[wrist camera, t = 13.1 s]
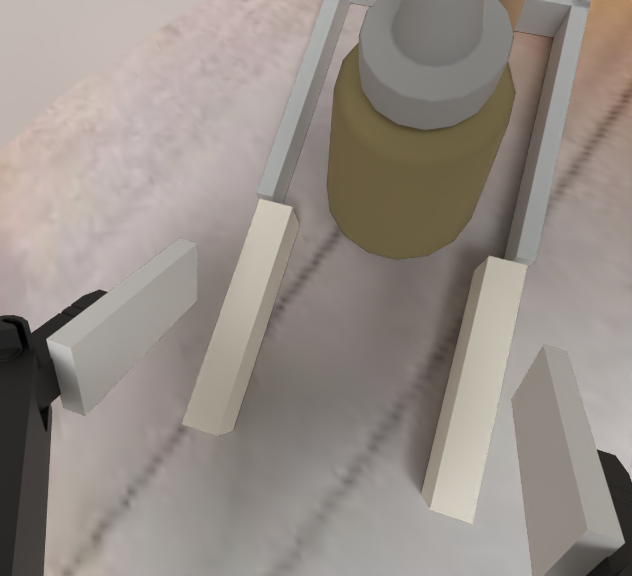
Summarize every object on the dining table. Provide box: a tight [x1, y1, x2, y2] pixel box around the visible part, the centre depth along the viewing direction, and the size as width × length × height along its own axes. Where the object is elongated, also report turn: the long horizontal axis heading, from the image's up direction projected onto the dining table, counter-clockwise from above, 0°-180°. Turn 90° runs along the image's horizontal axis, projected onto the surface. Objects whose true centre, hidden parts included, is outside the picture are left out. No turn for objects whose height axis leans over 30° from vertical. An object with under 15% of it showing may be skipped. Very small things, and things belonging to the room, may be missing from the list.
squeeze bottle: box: [327, 0, 515, 259], centre depth 18 cm, size 8×8×18 cm
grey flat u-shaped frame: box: [256, 0, 591, 267], centre depth 27 cm, size 16×18×2 cm
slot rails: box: [182, 199, 528, 524], centre depth 24 cm, size 15×13×3 cm
